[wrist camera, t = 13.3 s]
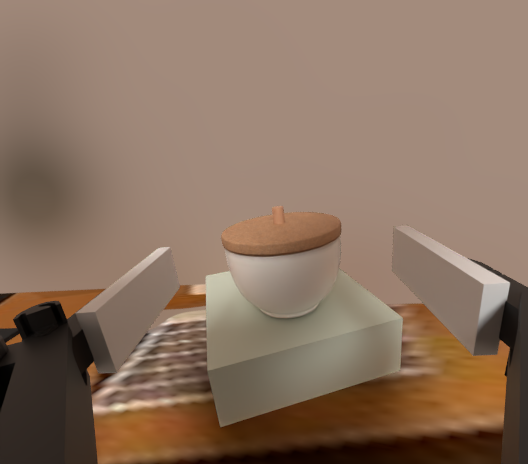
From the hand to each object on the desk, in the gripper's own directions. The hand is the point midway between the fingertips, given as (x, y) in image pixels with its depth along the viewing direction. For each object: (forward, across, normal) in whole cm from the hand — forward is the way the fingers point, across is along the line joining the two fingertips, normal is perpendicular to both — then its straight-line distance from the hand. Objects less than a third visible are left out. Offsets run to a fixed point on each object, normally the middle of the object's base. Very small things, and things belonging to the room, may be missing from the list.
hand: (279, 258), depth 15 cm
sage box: (+10, -1, -14) cm, 17 cm away
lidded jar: (+8, 0, -8) cm, 12 cm away
